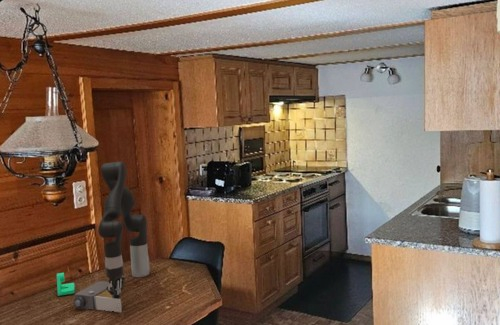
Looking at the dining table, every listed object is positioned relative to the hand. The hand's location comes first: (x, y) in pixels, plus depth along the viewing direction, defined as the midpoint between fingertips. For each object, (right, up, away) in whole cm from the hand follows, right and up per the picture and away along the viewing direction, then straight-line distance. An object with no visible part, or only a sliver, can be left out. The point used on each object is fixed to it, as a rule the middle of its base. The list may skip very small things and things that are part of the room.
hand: (117, 301), depth 223 cm
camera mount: (-32, -3, +25) cm, 41 cm away
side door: (-4, -4, -1) cm, 6 cm away
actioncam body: (-13, -3, +10) cm, 16 cm away
